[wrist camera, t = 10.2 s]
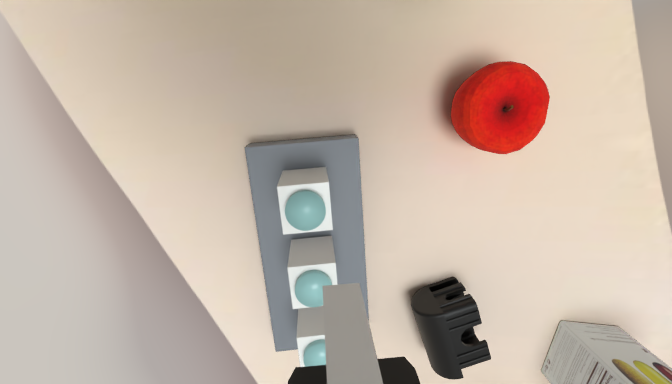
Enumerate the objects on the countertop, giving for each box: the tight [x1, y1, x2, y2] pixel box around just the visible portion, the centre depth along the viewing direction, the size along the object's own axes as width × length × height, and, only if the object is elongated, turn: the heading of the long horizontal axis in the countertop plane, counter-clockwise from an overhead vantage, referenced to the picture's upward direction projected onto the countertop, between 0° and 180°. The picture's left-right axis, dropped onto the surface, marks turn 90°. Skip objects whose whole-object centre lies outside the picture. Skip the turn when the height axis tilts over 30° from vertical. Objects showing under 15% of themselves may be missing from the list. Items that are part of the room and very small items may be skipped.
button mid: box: [287, 236, 337, 309], centre depth 36 cm, size 5×5×7 cm
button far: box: [297, 306, 326, 367], centre depth 38 cm, size 5×5×7 cm
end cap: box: [411, 277, 491, 379], centre depth 44 cm, size 10×7×7 cm
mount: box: [245, 134, 369, 352], centre depth 39 cm, size 26×12×8 cm, turn 4°
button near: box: [277, 167, 333, 235], centre depth 34 cm, size 5×5×7 cm
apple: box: [451, 61, 550, 154], centre depth 36 cm, size 9×9×8 cm
